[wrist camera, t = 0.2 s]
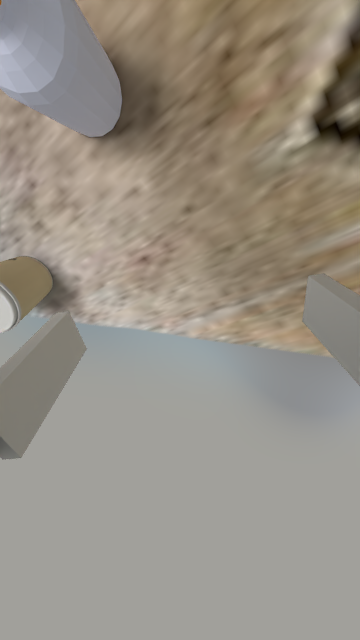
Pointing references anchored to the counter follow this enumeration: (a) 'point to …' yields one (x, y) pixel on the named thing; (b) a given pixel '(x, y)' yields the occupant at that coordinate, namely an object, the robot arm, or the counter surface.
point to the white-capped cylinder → (21, 289)
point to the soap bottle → (58, 65)
